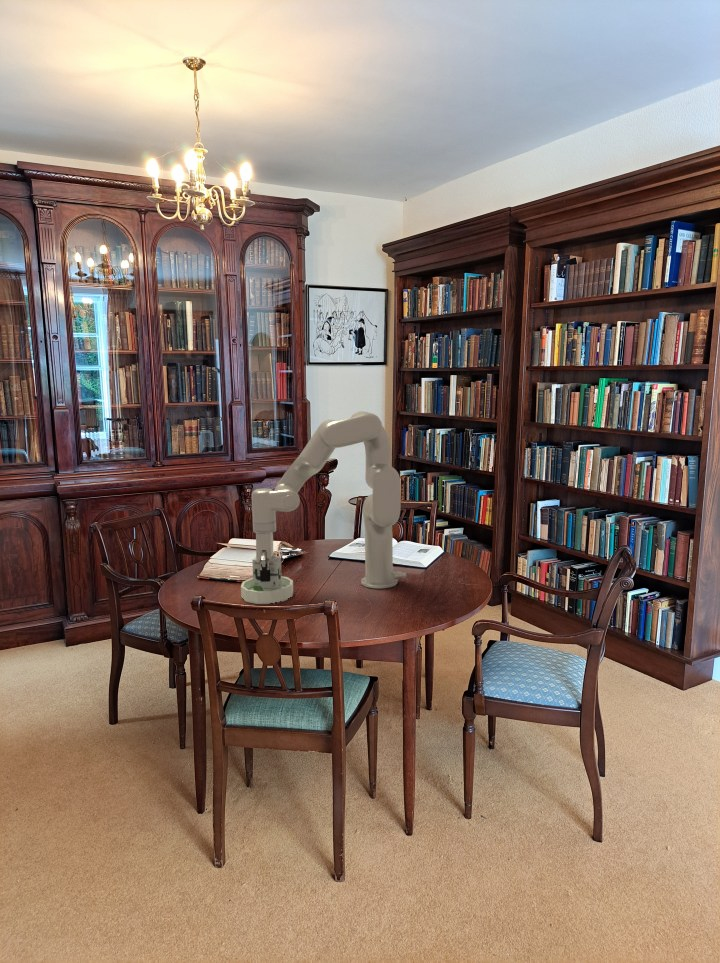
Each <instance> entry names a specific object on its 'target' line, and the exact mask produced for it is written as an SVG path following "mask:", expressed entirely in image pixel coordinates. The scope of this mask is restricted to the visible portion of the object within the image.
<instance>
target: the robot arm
mask: <svg viewBox="0 0 720 963" xmlns="http://www.w3.org/2000/svg"><path fill="white" fill-rule="evenodd" d="M359 443H363V445H364V450H365V451H364V452H365V483H366V484H367V486H368V487H369V488H370V489H372V494H370V495H368V496H367V497H365V499H364V501H363V504H362V516H363V517H362V518H363V525H364V555H365V556H364V564H365V568H364V569H365V576H364V577H362V578H361V581H360V582H361V585H362V586H364V587H365V588H369V589H378V590H379V589H389V588H393V587H395V586H396V585H397V584H398V579H407V572H403V571H396V570H394V567H393V566H394V565H393V564H394V562H393V553H394V552H393V551H394V550H393V540H394V537H393V536H394V535H393V525H395V524H397V522H398V521H399V518H400V515H401V510H402V509H401V506H402V505H401V503H402V502H401V501H402V499H401V498H402V495H401V494H402V493H401V492H402V486H401V485H402V484H401V483H402V482H401V477H400V475H399V472H398V471H397V469H395V468H394V467H393V466H392V456H391V455H392V454H391V453H392V452H391V442H390V438H389V435H388V433H387V430H386V429H385V427H384V426H383V424H382V420H381V419H380V417H379V416H378V415H377V414H375V413H372V412H367V411H356V412H355V413H352V415H351V416H350V417H349V418H345V419H341V420H334V419H327V420H324V421H322V422H321V423H320V425H319V426H318V427H317V429H316V430H315V432H314V433H313V434H312V436H311V437H310V439H309V441H308V442H307V443H306V445H305V447H304V448H303V449H302V451H301V453H300V454H299V455H298V456H297V458H295V460H294V461H293V462H292V464H291V465H290V466H289V468H287V470H286V471H285V472H284V474H283V475H282V477H281V479H280V480H279V481H278V483H277V485H275V488H274V490H273V489H272V488H265V487H264V488H257V489H254V490H252V491H251V510H252V513H251V514H252V516H251V517H252V532H253V533H255V557H256V562H257V563H259V562H260V581H261V582H270V569H269V562H271V560H272V557H273V556H274V532H277V518H276V517H277V515H276V512H285V513H286V512H288V513H289V512H292V511H294V510H296V509H297V508H298V507H299V505H300V502H301V499H300V495H299V491H300V490H301V488H302V487H303V486H304V485H305V483H306V482H307V481H308V480H309V479H310V478H311V477H312V476H314V475H316V474H319V472H320V471H321V470H323V468H324V466H325V465H326V463H327V462H328V460H329V458H330V457H331V455H333V452H334V451H335V450H336V449H337V448H343V447H348V446H352V445H355V444H359Z"/></svg>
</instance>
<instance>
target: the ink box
mask: <svg viewBox="0 0 720 963" xmlns="http://www.w3.org/2000/svg"><path fill="white" fill-rule="evenodd" d="M269 569H270V582H261V581H260V562H259V563H257V562H256V556H255V557H254V558H253V559H252V578H253V590H254V591H273V590H277V589H282V557H281V556H279V555H278V556H277V555H273V557H272V560H271V562H269Z"/></svg>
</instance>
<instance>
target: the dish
mask: <svg viewBox="0 0 720 963" xmlns="http://www.w3.org/2000/svg"><path fill="white" fill-rule="evenodd" d="M281 576H282V575H281ZM240 595H241V596H240V597H242V598H243V599H244V600H243V599H242V598H241V599H242V600H243V601H244V602H246V603H251V604H256V605H268V604H270V603H273V604H276V603H275V602H277V603H281V602H285V601H287V600H289V599H290V597H291V598H292V597H293V596H294V580H293V579H291V578H290V577H288V576H282V589H277V590H273V591H254V590H253V577H250V578H248V579H246V580H244V581H242V582H241V585H240ZM288 598H289V599H288ZM280 601H281V602H280ZM270 605H271V604H270Z"/></svg>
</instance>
